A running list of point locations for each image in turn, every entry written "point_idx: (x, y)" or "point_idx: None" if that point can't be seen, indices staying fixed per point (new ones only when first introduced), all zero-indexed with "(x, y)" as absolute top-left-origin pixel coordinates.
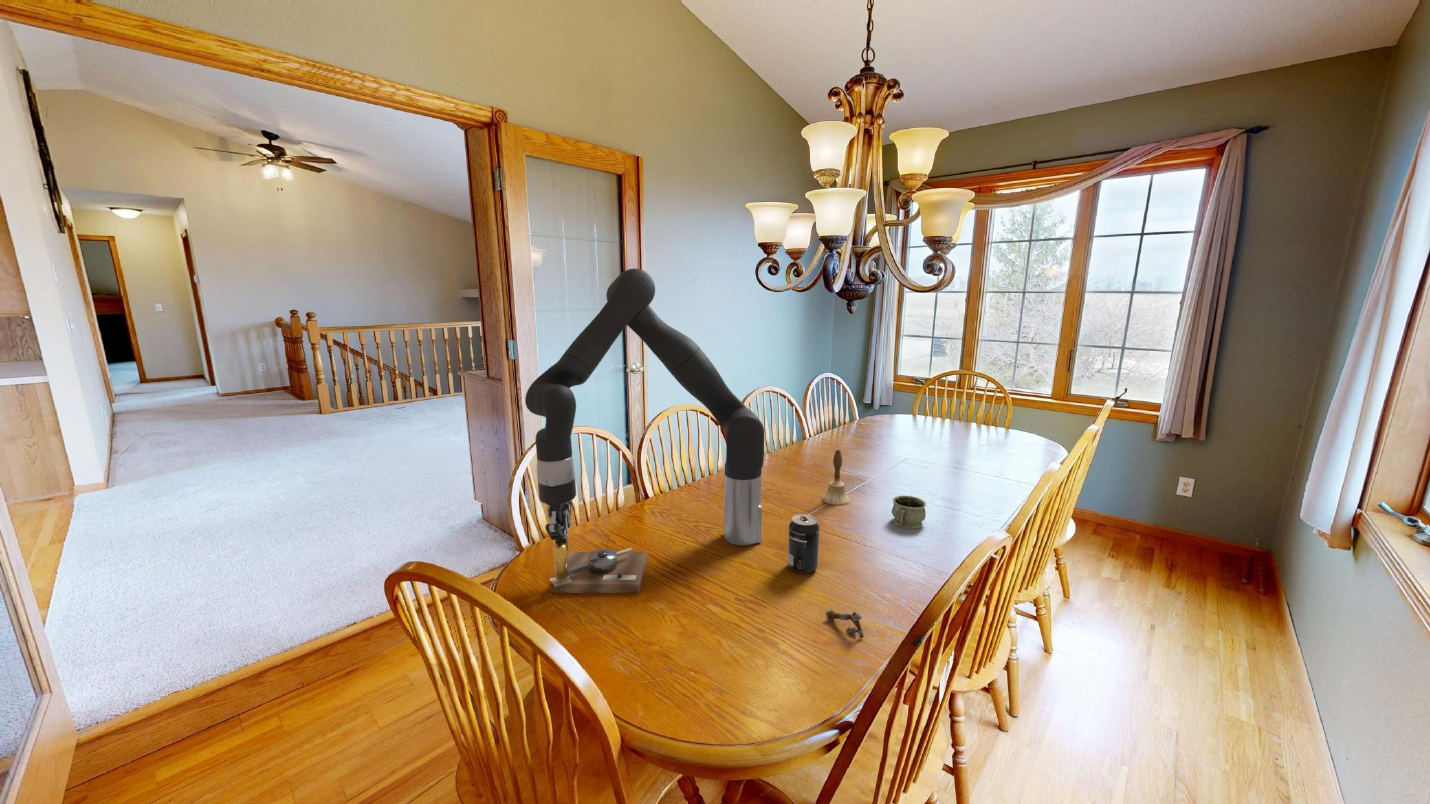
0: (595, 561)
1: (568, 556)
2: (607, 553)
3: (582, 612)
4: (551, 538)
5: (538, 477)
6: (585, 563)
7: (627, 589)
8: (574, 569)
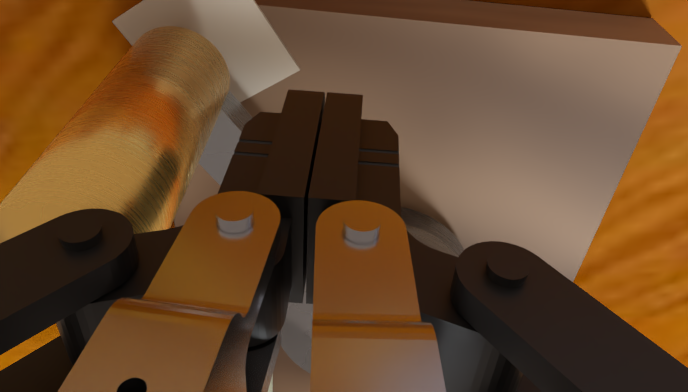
0: (291, 303)
1: (595, 41)
2: None
3: (4, 169)
4: (13, 251)
5: None
6: None
7: None
8: (215, 180)
